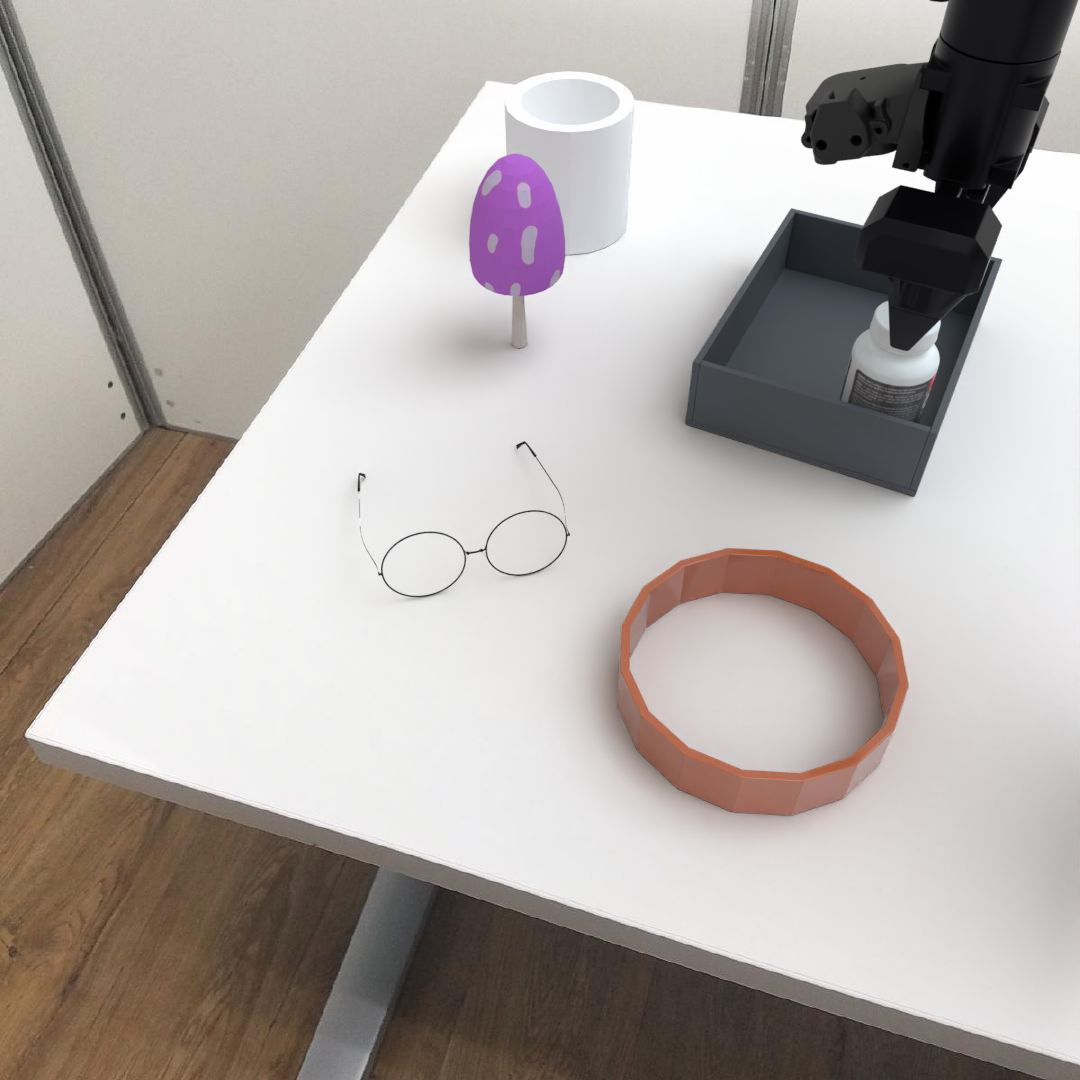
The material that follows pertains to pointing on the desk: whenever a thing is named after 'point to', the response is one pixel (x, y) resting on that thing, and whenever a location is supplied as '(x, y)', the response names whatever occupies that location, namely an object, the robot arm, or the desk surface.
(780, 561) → the ring
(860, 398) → the pill bottle
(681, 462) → the desk surface
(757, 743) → the desk surface
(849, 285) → the bin
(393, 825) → the desk surface
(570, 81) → the mug
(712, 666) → the desk surface
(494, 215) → the toy
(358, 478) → the eyeglasses
